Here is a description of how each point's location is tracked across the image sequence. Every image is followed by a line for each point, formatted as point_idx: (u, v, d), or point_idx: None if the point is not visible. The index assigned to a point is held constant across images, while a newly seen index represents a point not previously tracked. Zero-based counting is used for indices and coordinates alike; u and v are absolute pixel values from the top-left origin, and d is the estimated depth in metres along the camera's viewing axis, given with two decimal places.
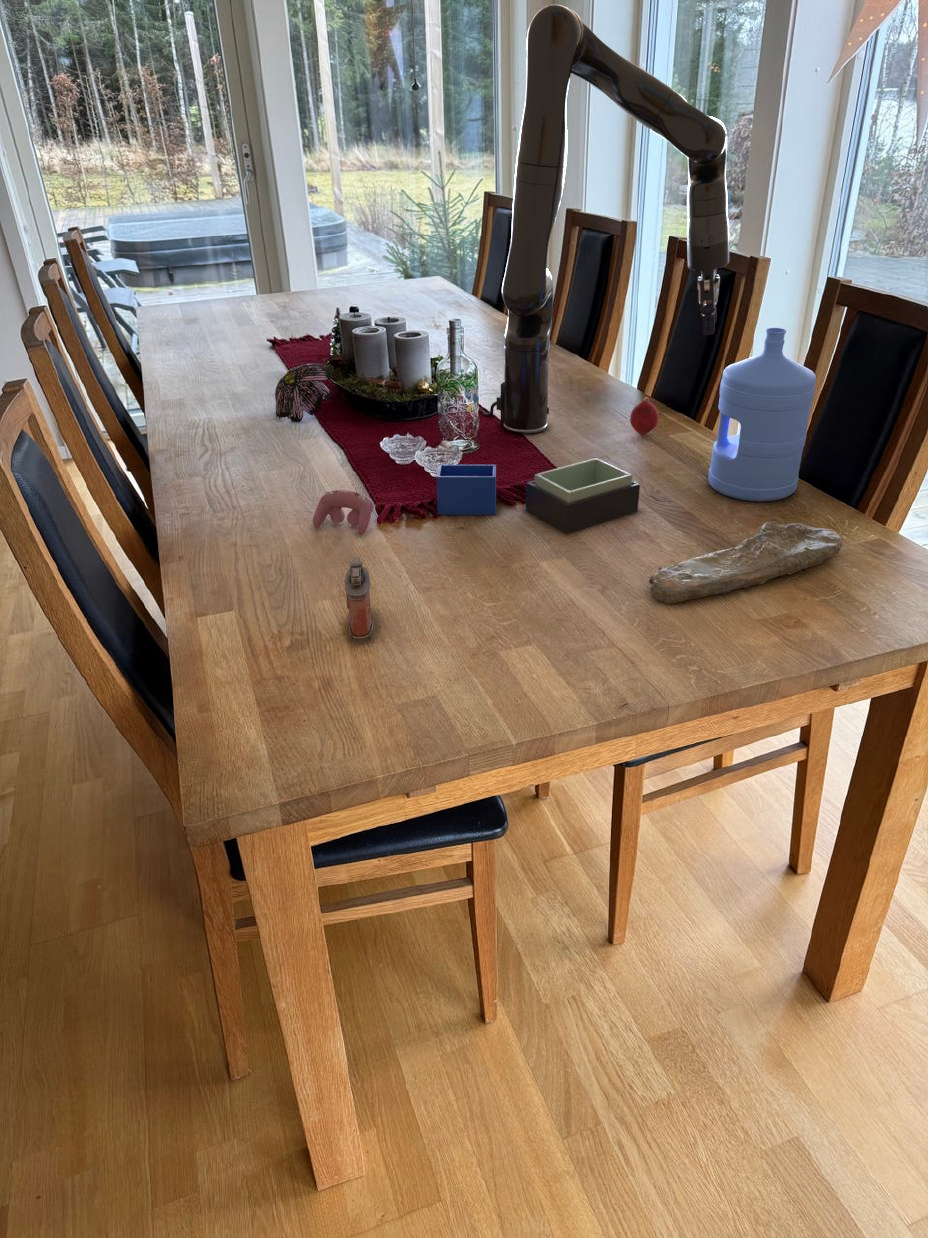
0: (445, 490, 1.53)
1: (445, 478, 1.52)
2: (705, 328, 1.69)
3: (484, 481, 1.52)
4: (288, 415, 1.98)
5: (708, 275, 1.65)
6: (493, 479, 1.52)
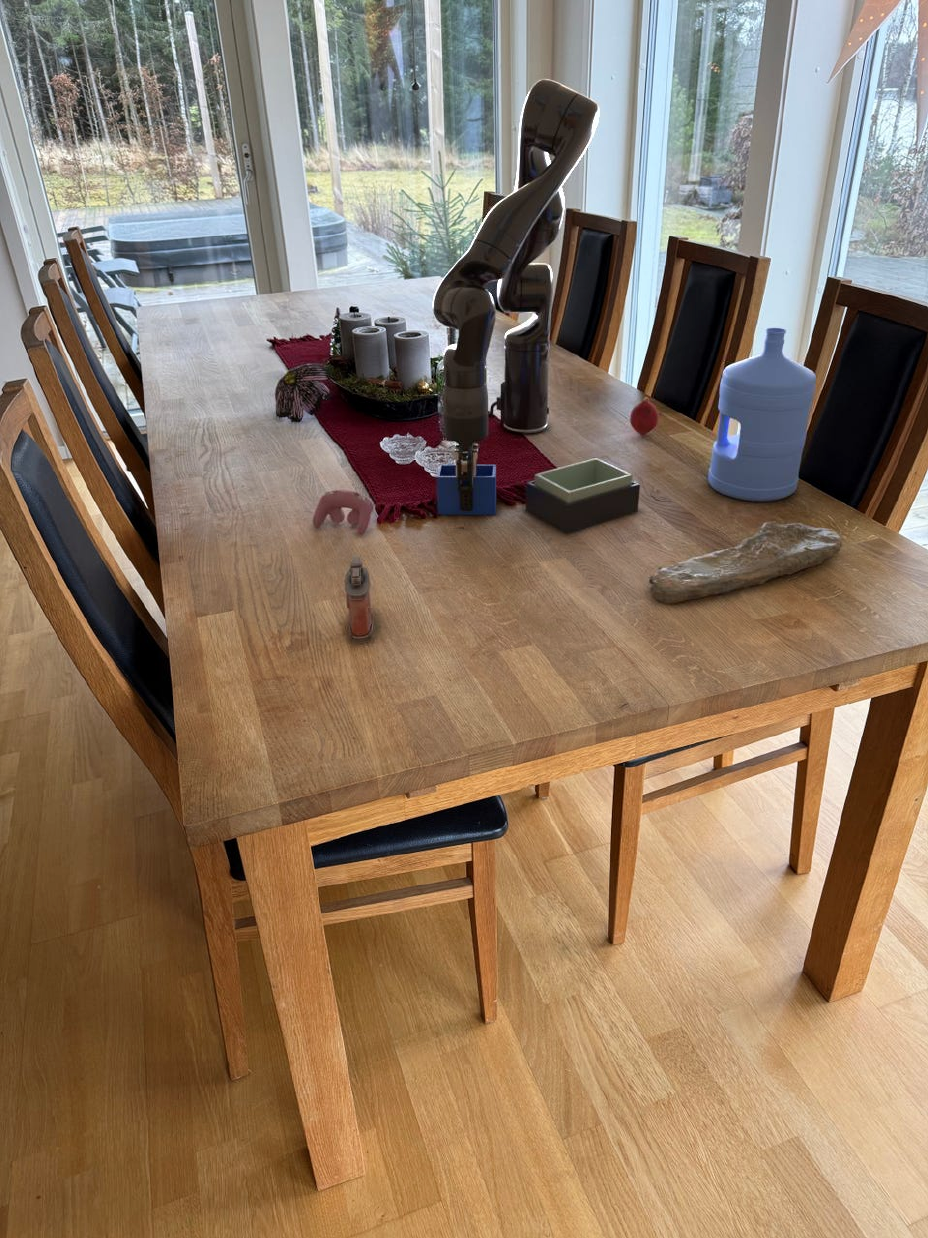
0: (445, 490, 1.53)
1: (445, 478, 1.52)
2: None
3: (484, 481, 1.52)
4: (288, 415, 1.98)
5: None
6: (493, 479, 1.52)
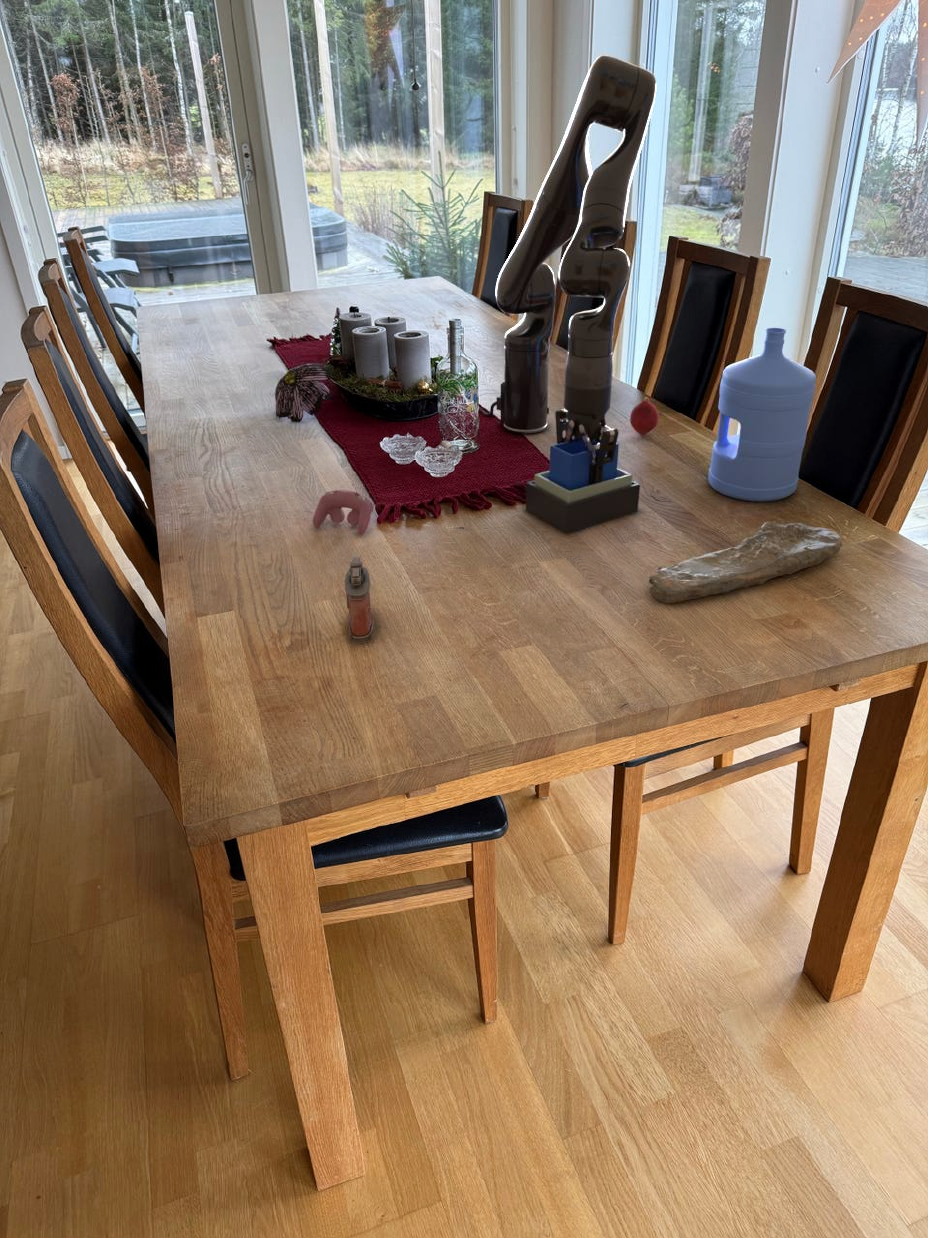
0: (577, 468, 1.47)
1: (578, 455, 1.46)
2: None
3: None
4: (288, 415, 1.98)
5: None
6: (617, 446, 1.50)
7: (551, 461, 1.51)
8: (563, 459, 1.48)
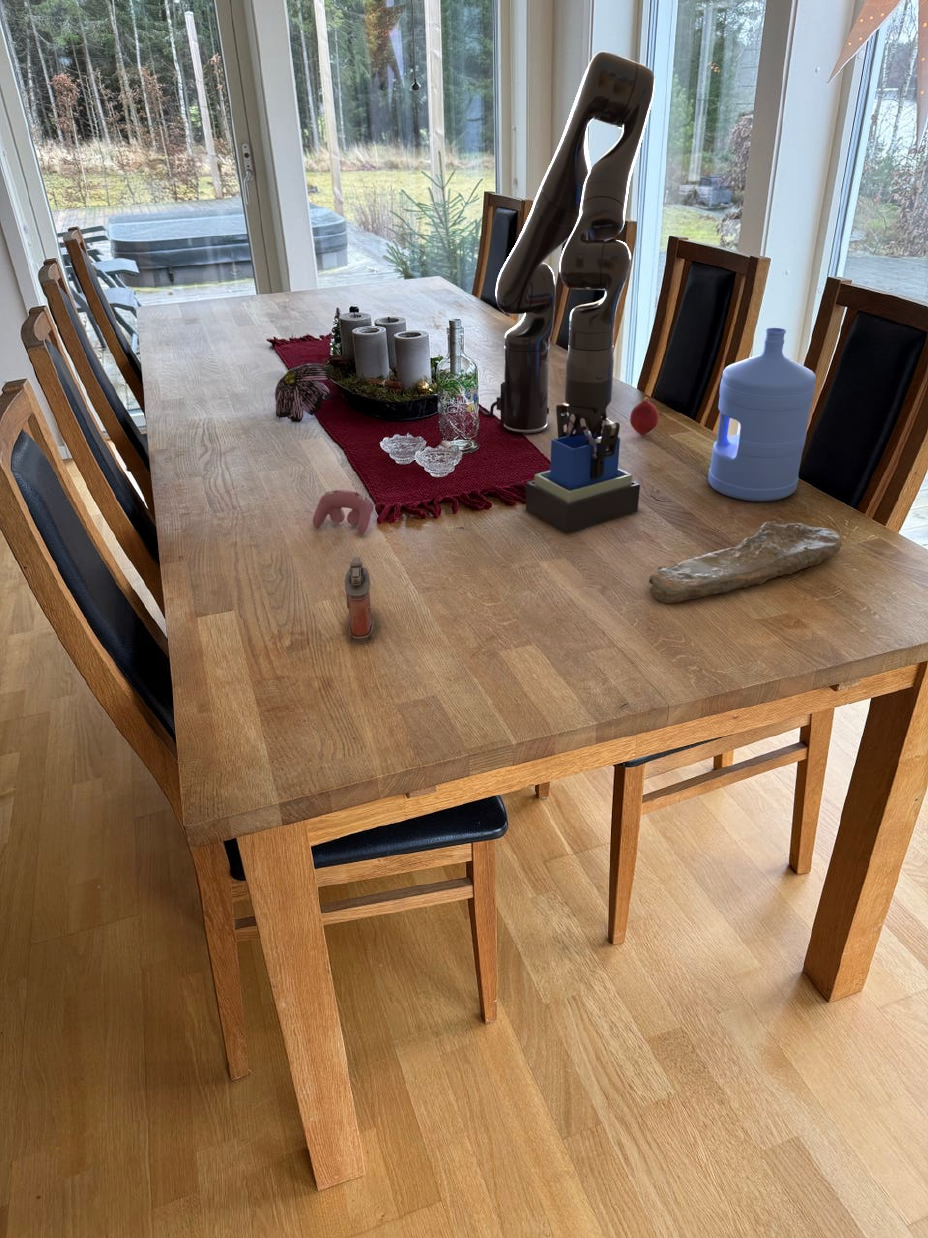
0: (578, 462, 1.47)
1: (580, 449, 1.46)
2: None
3: None
4: (288, 415, 1.98)
5: None
6: (618, 440, 1.49)
7: (552, 455, 1.50)
8: (564, 453, 1.47)
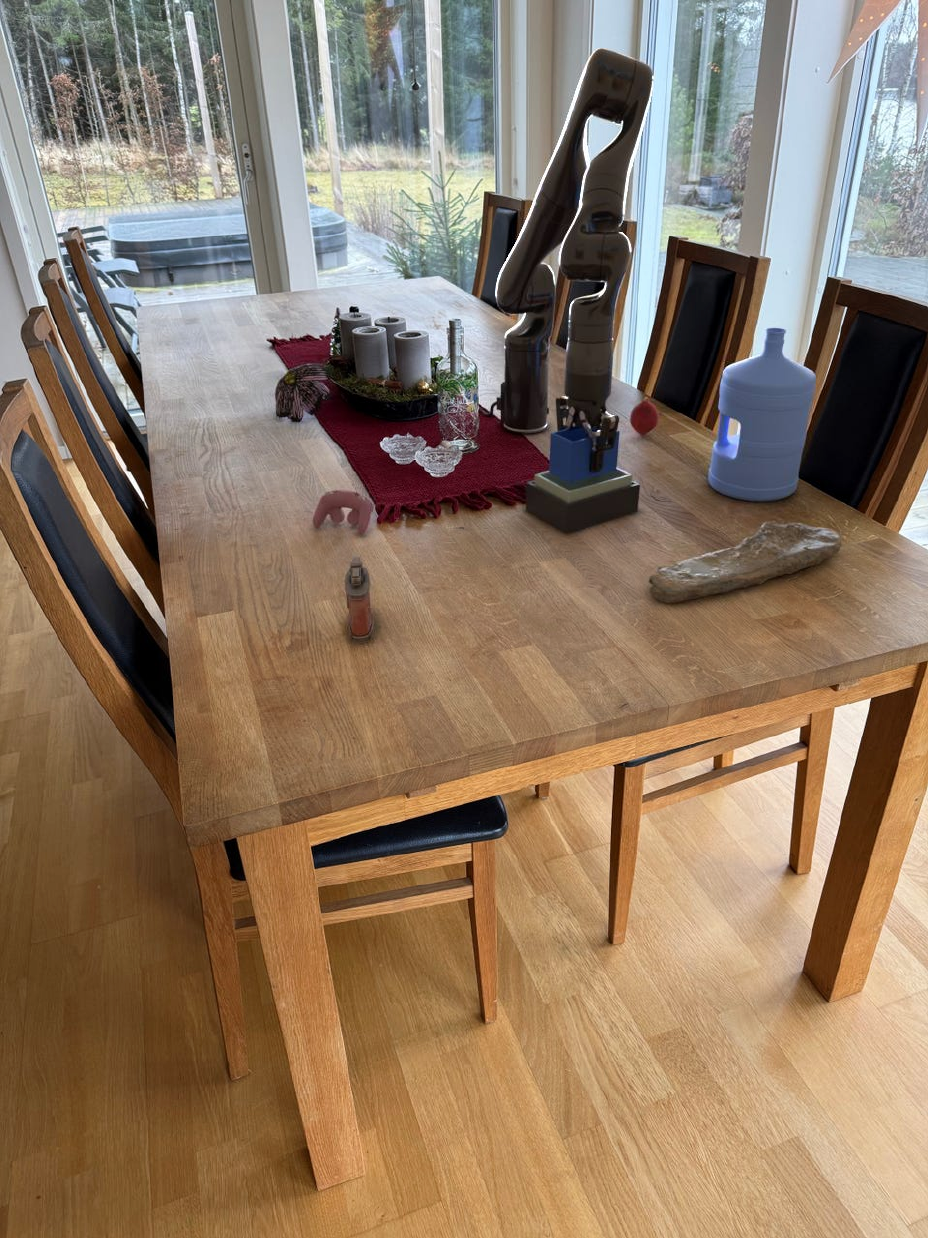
0: (578, 455, 1.46)
1: (579, 442, 1.45)
2: None
3: None
4: (288, 415, 1.98)
5: None
6: (618, 433, 1.49)
7: (551, 449, 1.49)
8: (563, 446, 1.46)
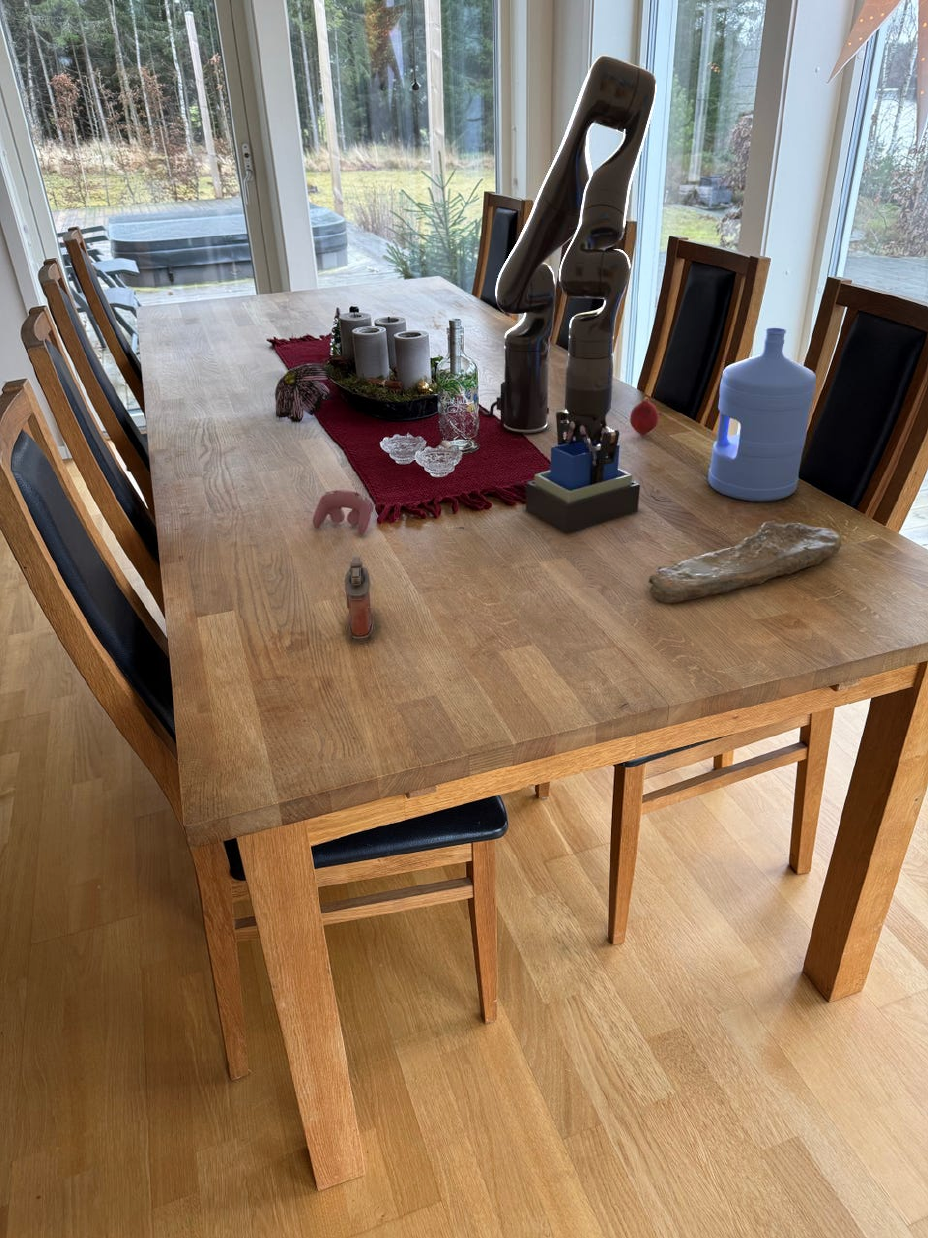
0: (578, 469, 1.47)
1: (579, 456, 1.46)
2: None
3: None
4: (288, 415, 1.98)
5: None
6: (618, 447, 1.50)
7: (552, 463, 1.51)
8: (564, 460, 1.48)
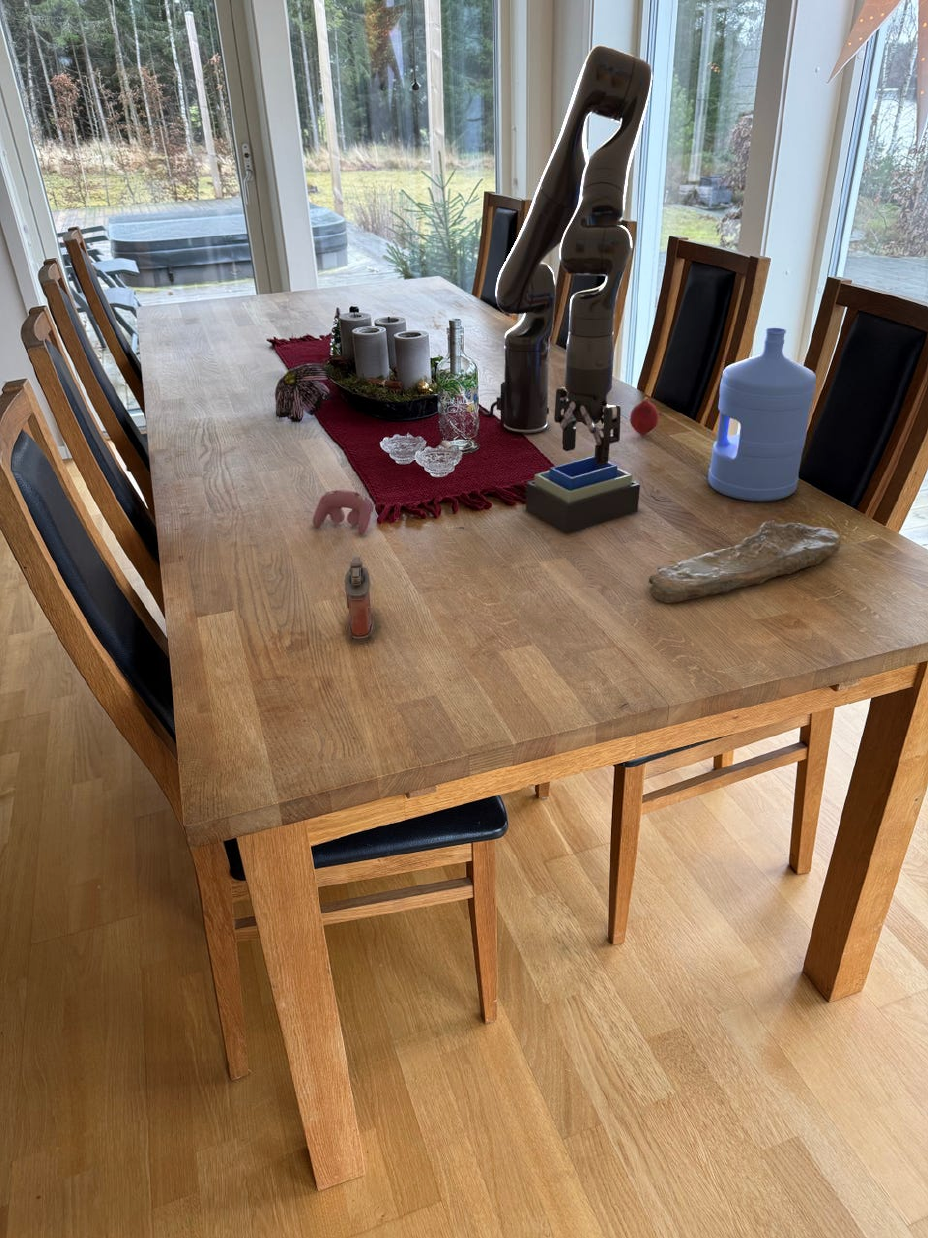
0: None
1: (578, 478, 1.48)
2: None
3: (609, 471, 1.51)
4: (288, 415, 1.98)
5: None
6: (615, 468, 1.52)
7: None
8: (562, 481, 1.50)
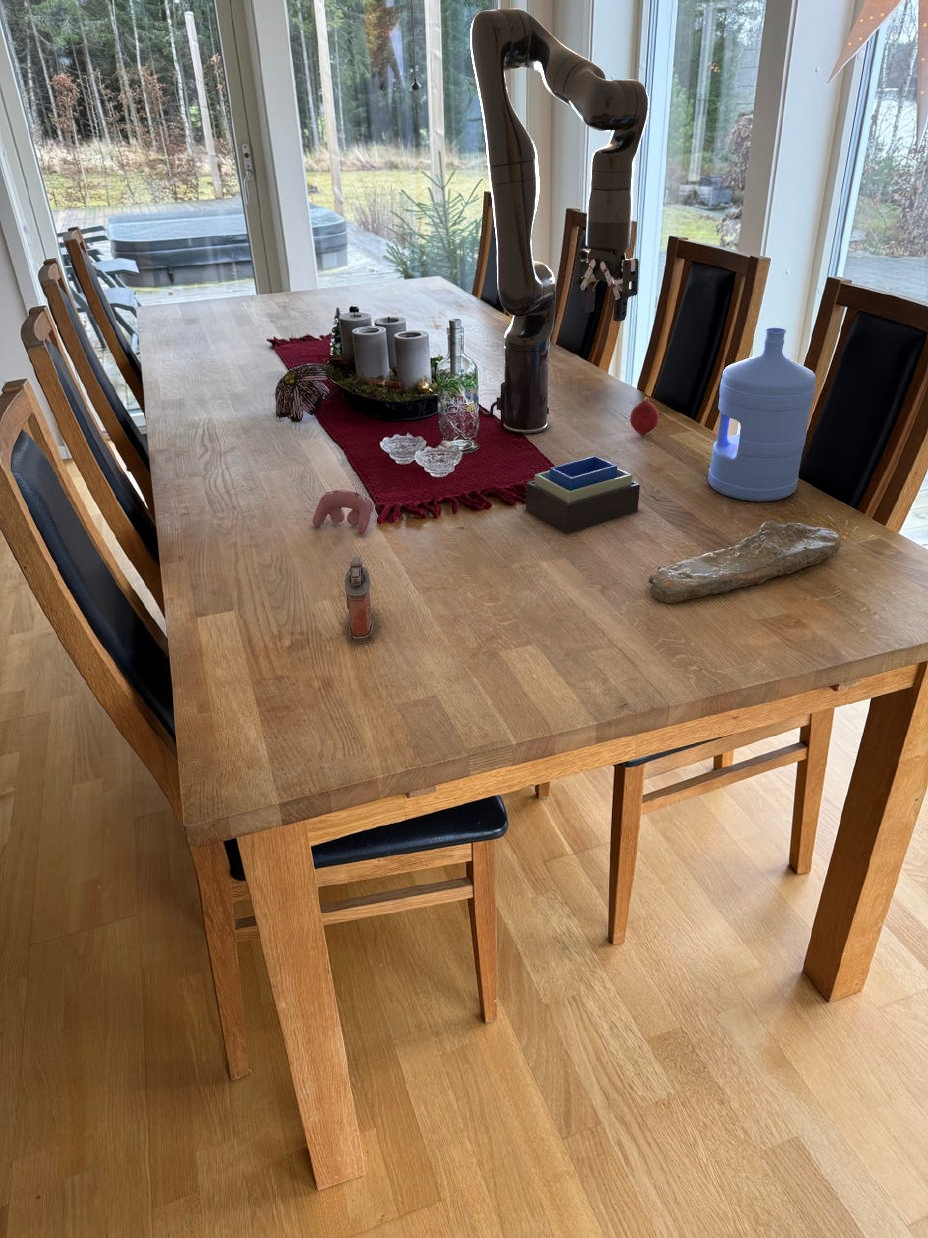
0: None
1: (578, 478, 1.48)
2: None
3: (609, 471, 1.51)
4: (288, 415, 1.98)
5: None
6: (615, 468, 1.52)
7: None
8: (562, 481, 1.50)
